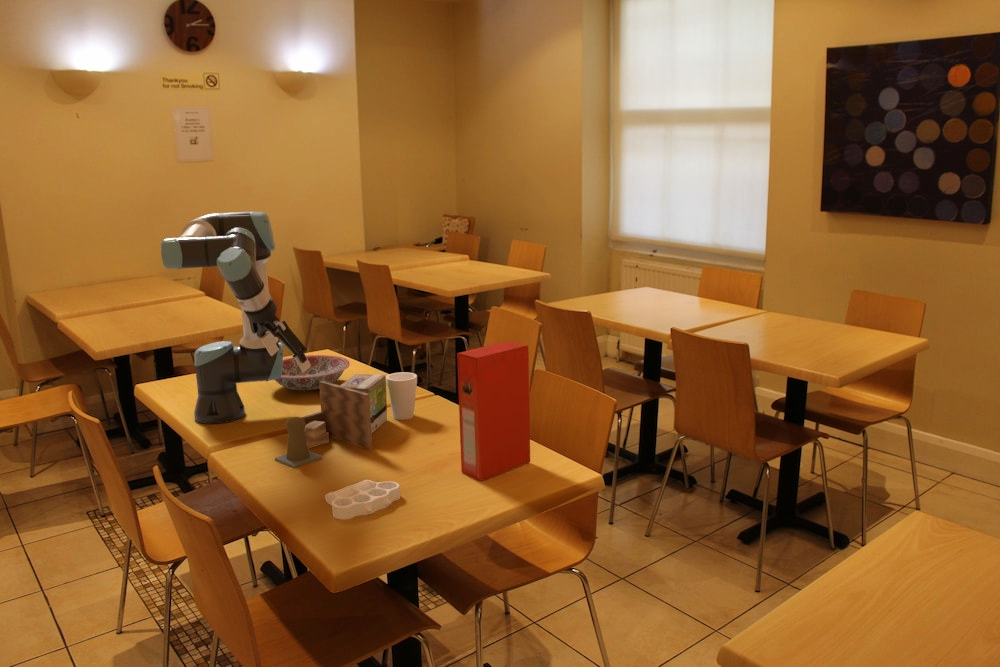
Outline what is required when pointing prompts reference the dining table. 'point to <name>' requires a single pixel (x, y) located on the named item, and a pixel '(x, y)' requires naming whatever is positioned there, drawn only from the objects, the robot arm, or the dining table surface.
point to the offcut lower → (318, 440)
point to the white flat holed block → (362, 498)
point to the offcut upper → (314, 429)
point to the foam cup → (402, 394)
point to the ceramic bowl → (312, 372)
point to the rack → (344, 414)
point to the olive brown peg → (296, 439)
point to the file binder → (494, 409)
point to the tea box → (372, 395)
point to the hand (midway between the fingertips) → (290, 360)
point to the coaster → (295, 464)
